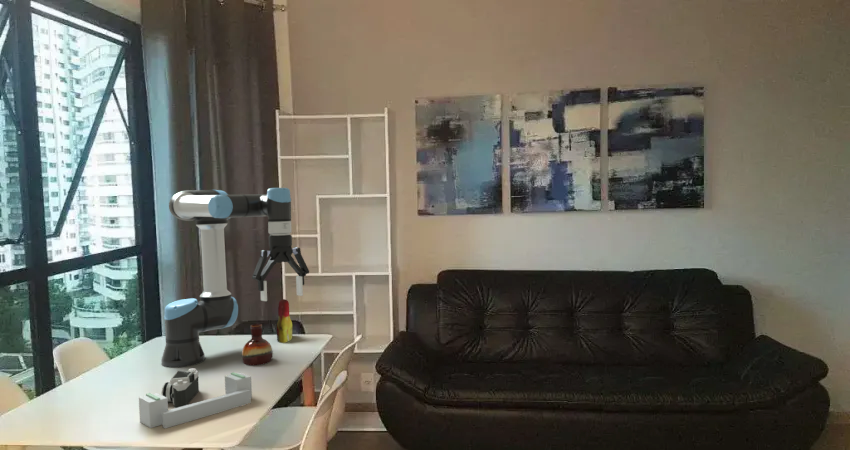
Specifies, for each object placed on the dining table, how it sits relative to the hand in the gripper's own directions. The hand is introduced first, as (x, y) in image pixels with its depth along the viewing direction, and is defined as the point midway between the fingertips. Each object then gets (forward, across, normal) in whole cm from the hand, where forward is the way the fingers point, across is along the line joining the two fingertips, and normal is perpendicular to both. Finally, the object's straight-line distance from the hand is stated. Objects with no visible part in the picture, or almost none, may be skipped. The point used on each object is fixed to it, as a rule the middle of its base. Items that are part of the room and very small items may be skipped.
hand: (282, 298), depth 201 cm
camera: (+29, -31, +9) cm, 44 cm away
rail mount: (+29, -31, -4) cm, 43 cm away
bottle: (+29, +28, +45) cm, 61 cm away
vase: (+29, +5, +26) cm, 39 cm away
